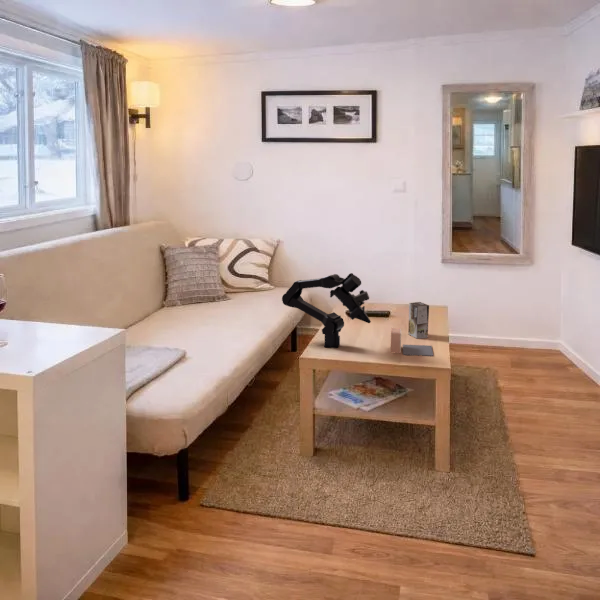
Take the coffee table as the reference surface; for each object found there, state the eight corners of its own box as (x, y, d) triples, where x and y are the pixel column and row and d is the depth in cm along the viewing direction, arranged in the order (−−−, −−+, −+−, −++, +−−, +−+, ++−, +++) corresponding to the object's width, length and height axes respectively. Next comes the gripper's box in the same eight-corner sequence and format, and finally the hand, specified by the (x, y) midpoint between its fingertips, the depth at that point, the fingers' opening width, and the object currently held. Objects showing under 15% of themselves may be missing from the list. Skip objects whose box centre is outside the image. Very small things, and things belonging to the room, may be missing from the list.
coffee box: (428, 338, 314) (429, 305, 311) (416, 339, 312) (417, 306, 309) (419, 333, 322) (420, 301, 319) (407, 334, 320) (408, 302, 317)
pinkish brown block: (390, 352, 289) (391, 333, 287) (390, 346, 299) (391, 327, 297) (400, 353, 288) (401, 333, 286) (400, 347, 298) (401, 328, 296)
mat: (403, 355, 285) (403, 354, 285) (402, 345, 301) (402, 344, 301) (433, 356, 283) (433, 355, 283) (431, 346, 299) (431, 345, 299)
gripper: (357, 289, 281) (382, 315, 282) (360, 282, 299) (383, 306, 300) (339, 306, 284) (364, 332, 284) (342, 298, 302) (366, 322, 302)
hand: (370, 322), depth 293 cm, fingers closed
